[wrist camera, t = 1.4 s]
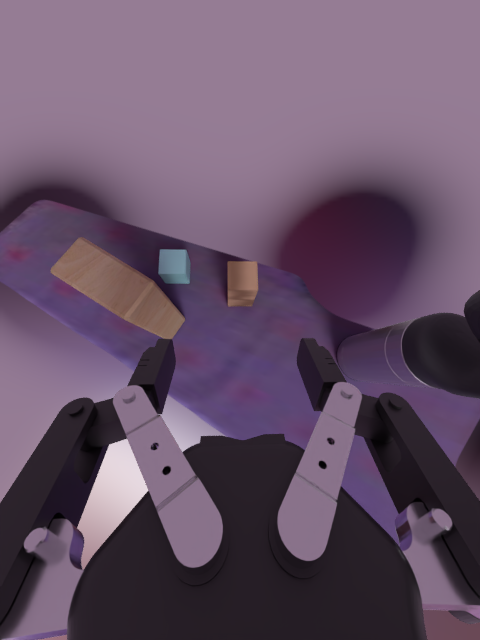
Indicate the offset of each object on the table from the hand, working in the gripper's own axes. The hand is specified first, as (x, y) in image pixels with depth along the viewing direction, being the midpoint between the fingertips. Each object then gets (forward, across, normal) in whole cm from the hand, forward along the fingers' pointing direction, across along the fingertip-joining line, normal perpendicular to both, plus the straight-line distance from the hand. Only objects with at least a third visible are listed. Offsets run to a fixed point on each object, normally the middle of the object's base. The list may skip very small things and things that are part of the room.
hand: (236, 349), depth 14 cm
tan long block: (+32, -2, +12) cm, 34 cm away
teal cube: (+35, +11, +8) cm, 38 cm away
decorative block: (+28, +15, +15) cm, 35 cm away
